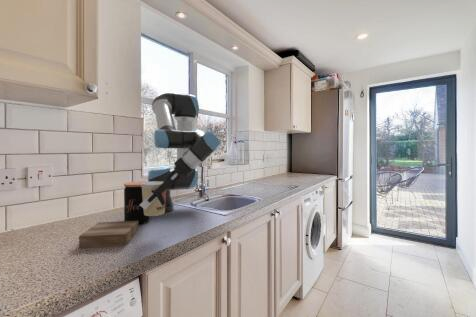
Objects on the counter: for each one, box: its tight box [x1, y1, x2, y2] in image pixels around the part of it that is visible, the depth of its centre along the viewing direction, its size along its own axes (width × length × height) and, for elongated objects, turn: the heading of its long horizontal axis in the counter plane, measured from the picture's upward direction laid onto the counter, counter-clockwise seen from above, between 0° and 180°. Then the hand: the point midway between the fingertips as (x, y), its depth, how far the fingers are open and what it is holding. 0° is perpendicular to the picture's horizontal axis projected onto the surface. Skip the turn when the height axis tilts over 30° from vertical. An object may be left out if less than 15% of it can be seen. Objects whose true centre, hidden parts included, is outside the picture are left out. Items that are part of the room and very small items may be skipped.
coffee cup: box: [141, 181, 166, 217], centre depth 89 cm, size 9×9×12 cm
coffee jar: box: [123, 181, 151, 226], centre depth 105 cm, size 11×11×18 cm
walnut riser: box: [78, 220, 139, 249], centre depth 86 cm, size 15×15×4 cm
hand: (145, 203), depth 89 cm, fingers closed on coffee cup, 9 cm apart
